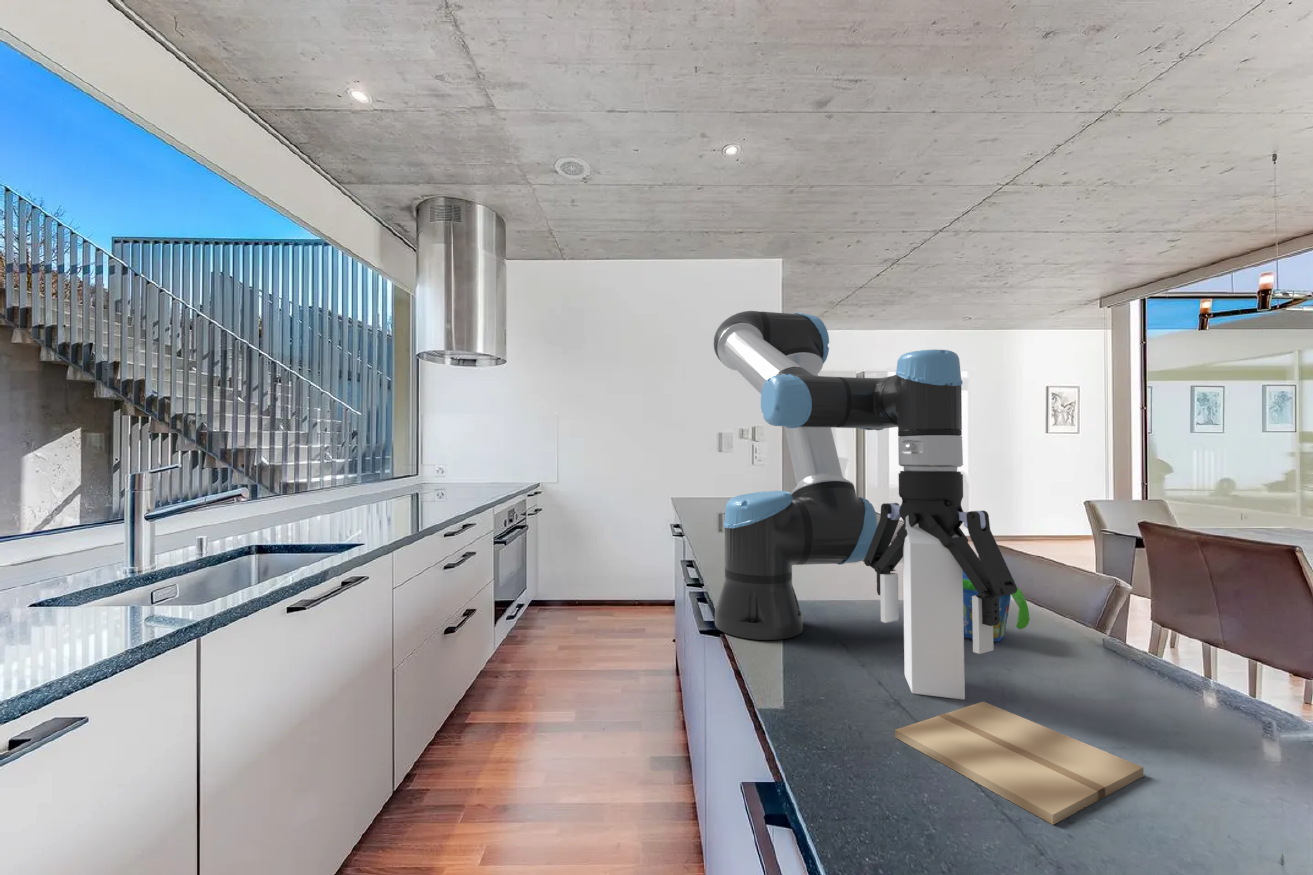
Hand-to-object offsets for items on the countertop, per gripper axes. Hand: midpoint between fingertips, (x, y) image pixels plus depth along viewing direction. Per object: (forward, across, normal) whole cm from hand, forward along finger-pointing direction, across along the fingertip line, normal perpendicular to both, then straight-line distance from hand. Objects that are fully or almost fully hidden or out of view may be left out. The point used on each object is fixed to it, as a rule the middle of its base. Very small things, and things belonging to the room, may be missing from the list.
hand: (932, 634), depth 69 cm
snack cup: (+7, -10, +25) cm, 28 cm away
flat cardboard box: (+7, +14, -8) cm, 17 cm away
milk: (+7, 0, 0) cm, 7 cm away
